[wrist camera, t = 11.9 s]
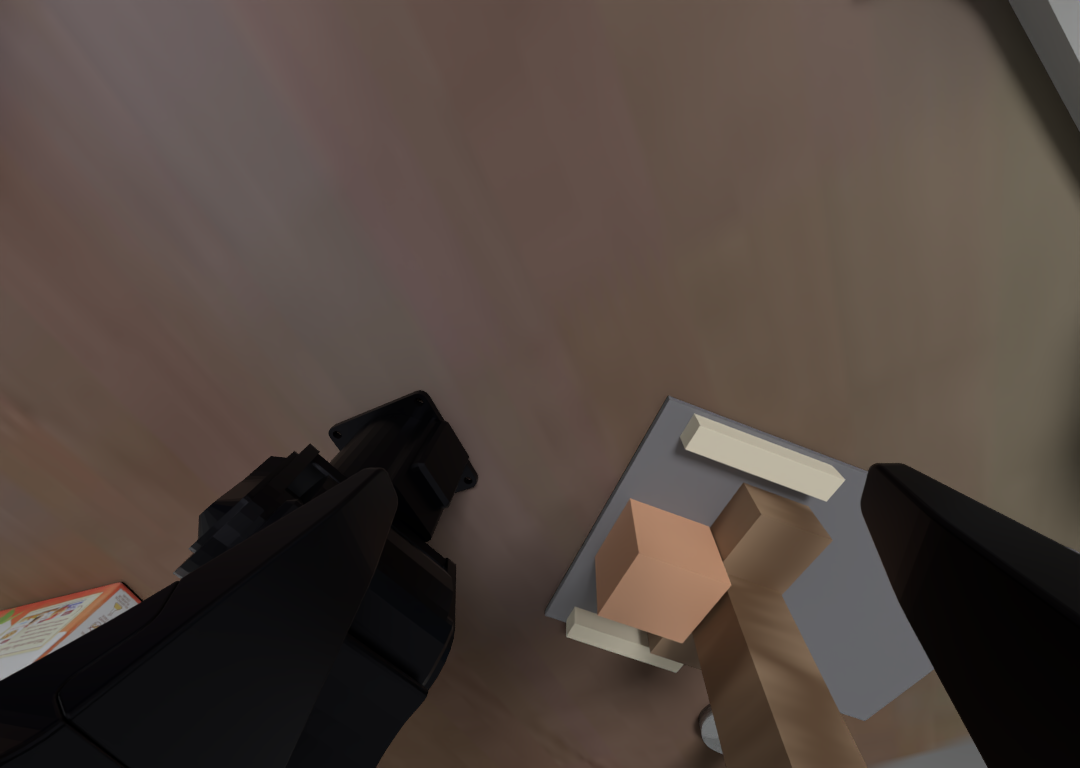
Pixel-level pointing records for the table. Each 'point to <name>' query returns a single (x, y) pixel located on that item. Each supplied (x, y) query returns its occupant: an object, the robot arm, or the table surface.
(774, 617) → the wooden block on base
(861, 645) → the mat
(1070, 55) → the adjustable wrench
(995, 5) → the table surface
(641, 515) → the terracotta block
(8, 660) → the cracker box
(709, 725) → the grey metal stick
